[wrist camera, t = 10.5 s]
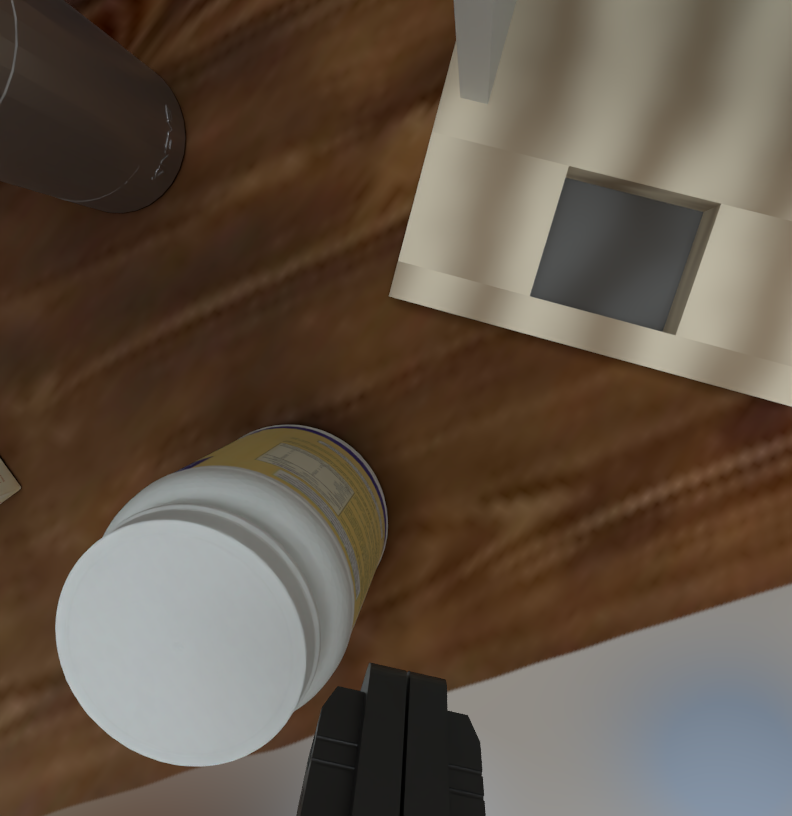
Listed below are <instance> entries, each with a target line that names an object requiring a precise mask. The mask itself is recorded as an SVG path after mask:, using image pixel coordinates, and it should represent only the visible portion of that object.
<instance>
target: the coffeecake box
mask: <svg viewBox="0 0 792 816" xmlns="http://www.w3.org/2000/svg"><path fill="white" fill-rule="evenodd" d="M20 489H21V486H20V485H19V484H18V482H17V481H16V479H15V478H14V477H13V475H12V474H11V473H10V471H9V470H8V468H7V467H6V466H5V464H4V463H3V461H2V460H1V459H0V504H1V503H2V502H4V501H5V500H6V499H8V498H9V497H11V496H12V495H13V494H15V493H16V492H17V491H19V490H20Z"/></svg>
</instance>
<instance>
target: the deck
mask: <svg viewBox="0 0 792 816" xmlns="http://www.w3.org/2000/svg"><path fill="white" fill-rule="evenodd" d="M389 296H390V297H393V298H397V299H400V300H404V301H408V302H411V303H415V304H419V305H422V306H426V307H430V308H433V309H437V310H441V311H444V312H448V313H452V314H455V315H459V316H463V317H466V318H470V319H473V320H477V321H481V322H484V323H488V324H492V325H495V326H499V327H503V328H506V329H510V330H514V331H517V332H521V333H525V334H528V335H532V336H536V337H539V338H543V339H547V340H550V341H554V342H558V343H561V344H565V345H568V346H572V347H576V348H579V349H583V350H587V351H590V352H594V353H598V354H601V355H605V356H609V357H612V358H616V359H620V360H623V361H627V362H631V363H634V364H638V365H642V366H645V367H649V368H653V369H656V370H660V371H663V372H667V373H671V374H674V375H678V376H682V377H685V378H689V379H693V380H696V381H700V382H704V383H707V384H711V385H715V386H718V387H722V388H726V389H729V390H733V391H737V392H740V393H744V394H748V395H751V396H755V397H758V398H762V399H766V400H769V401H773V402H777V403H780V404H784V405H788V406H792V0H517V1H516V4H515V8H514V11H513V15H512V19H511V22H510V26H509V30H508V33H507V37H506V40H505V44H504V48H503V51H502V55H501V59H500V62H499V66H498V69H497V73H496V77H495V80H494V84H493V88H492V91H491V95H490V98H489V102H488V104H485V103H480V102H476V101H472V100H468V99H464V98H460V84H459V70H458V55H457V41H456V43H455V47H454V51H453V54H452V58H451V62H450V66H449V70H448V73H447V77H446V81H445V85H444V89H443V92H442V96H441V100H440V104H439V108H438V111H437V115H436V119H435V123H434V127H433V130H432V134H431V138H430V142H429V146H428V149H427V153H426V157H425V161H424V164H423V168H422V172H421V176H420V180H419V183H418V187H417V191H416V195H415V199H414V202H413V206H412V210H411V214H410V218H409V221H408V225H407V229H406V233H405V237H404V240H403V244H402V248H401V252H400V256H399V259H398V263H397V267H396V271H395V275H394V278H393V282H392V286H391V290H390V294H389Z"/></svg>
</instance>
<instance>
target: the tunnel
mask: <svg viewBox="0 0 792 816" xmlns="http://www.w3.org/2000/svg"><path fill="white" fill-rule="evenodd" d="M516 1H517V0H454V12H455V26H456V41H457V55H458V70H459V84H460V98H464V99H468V100H472V101H476V102H480V103H485V104H488V102H489V98H490V95H491V91H492V88H493V84H494V80H495V77H496V73H497V69H498V66H499V62H500V59H501V55H502V51H503V48H504V44H505V40H506V37H507V33H508V30H509V26H510V22H511V19H512V15H513V11H514V8H515V4H516Z"/></svg>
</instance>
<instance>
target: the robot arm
mask: <svg viewBox="0 0 792 816" xmlns="http://www.w3.org/2000/svg"><path fill="white" fill-rule="evenodd" d="M184 148H185V127H184V120H183V116H182V113H181V109H180V106H179V104H178V102H177V100H176V98H175V96H174V94H173V92H172V90H171V89H170V88H169V86H168V85H167V84H166V83H165V81H164V80H163V79H162V78H161V77H160V76H159V75H158V74H156V73H155V72H154V71H153V70H151V69H150V68H149V67H148V66H146V65H145V64H144V63H143V62H141V61H140V60H139V59H138V58H136V57H135V56H134V55H132V54H131V53H130V52H129V51H127V50H126V49H125V48H124V47H122V46H121V45H120V44H119V43H118V42H116V41H115V40H114V39H113V38H111V37H110V36H109V35H107V34H106V33H105V32H104V31H102V30H101V29H100V28H98V27H97V26H96V25H94V24H93V23H92V22H91V21H89V20H88V19H87V18H85V17H84V16H83V15H82V14H80V13H79V12H78V11H76V10H75V9H74V8H73V7H71V6H70V5H69V4H67V3H66V2H65V1H64V0H0V181H2V182H5V183H9V184H12V185H16V186H19V187H22V188H26V189H29V190H33V191H36V192H39V193H43V194H46V195H50V196H53V197H56V198H59V199H62V200H66V201H69V202H73V203H76V204H80V205H83V206H87V207H90V208H94V209H98V210H101V211H105V212H109V213H126V212H131V211H136V210H139V209H141V208H143V207H145V206H148V205H150V204H151V203H152V202H154V201H155V200H156V199H158V198H159V197H160V196H162V195H163V193H164V192H165V191H166V190H167V189H168V188H169V186H170V185H171V184H172V182H173V180H174V179H175V177H176V175H177V173H178V171H179V169H180V165H181V162H182V159H183V155H184ZM481 775H482V761H481V748H480V741H479V739H478V736H477V735H476V732H475V730H474V728H473V726H472V723H471V721H470V719H469V717H468V715H464V714H459V713H455V712H451V711H447V684H446V680H445V679H441V678H436V677H432V676H428V675H423V674H419V673H414V672H410V671H408V673H407V672H406V671H405V670H400V669H396V668H391V667H387V666H383V665H378V664H374V663H369V665H368V668H367V671H366V675H365V678H364V681H363V685H362V688H361V691H357V690H352V689H348V688H343V687H339V686H337V688H336V689H335V690H334V692H333V693H332V694H331V696H330V697H329V698H328V700H327V701H326V703H325V704H324V705H323V707H322V709H321V713H320V717H319V720H318V724H317V728H316V732H315V735H314V739H313V743H312V747H311V750H310V754H309V758H308V762H307V767H306V772H305V776H304V781H303V786H302V791H301V796H300V800H299V805H298V810H297V816H485V803H484V801H483V796H484V789H483V777H482V776H481Z"/></svg>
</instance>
